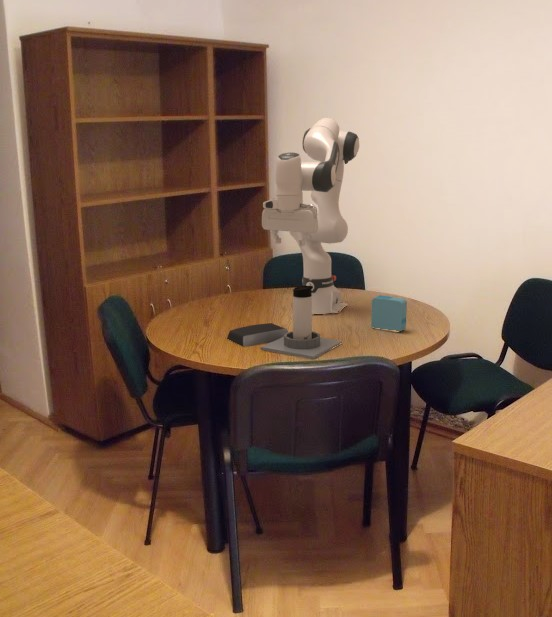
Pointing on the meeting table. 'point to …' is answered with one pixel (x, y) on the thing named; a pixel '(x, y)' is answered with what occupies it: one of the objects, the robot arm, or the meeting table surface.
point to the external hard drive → (256, 334)
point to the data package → (389, 313)
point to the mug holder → (301, 346)
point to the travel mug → (302, 313)
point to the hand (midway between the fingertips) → (290, 244)
